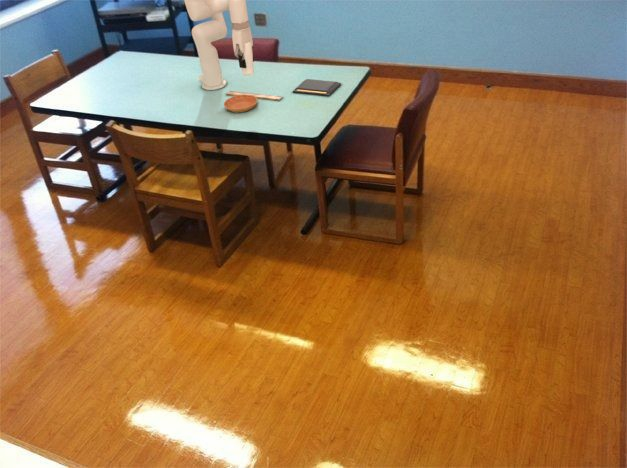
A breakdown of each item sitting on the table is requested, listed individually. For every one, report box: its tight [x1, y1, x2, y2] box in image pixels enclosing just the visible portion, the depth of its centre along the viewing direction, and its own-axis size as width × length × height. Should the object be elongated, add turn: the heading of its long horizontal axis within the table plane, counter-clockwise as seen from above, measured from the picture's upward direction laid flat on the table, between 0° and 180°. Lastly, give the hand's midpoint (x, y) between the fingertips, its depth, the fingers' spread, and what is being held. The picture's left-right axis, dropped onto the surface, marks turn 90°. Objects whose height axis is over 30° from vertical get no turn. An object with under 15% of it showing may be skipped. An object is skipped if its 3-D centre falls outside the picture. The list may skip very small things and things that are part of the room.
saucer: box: [223, 95, 259, 114], centre depth 284 cm, size 16×16×3 cm
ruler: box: [226, 90, 283, 102], centre depth 293 cm, size 30×3×1 cm, turn 65°
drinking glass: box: [239, 40, 255, 76], centre depth 269 cm, size 7×7×15 cm
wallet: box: [292, 78, 342, 97], centre depth 293 cm, size 20×2×15 cm
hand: (246, 64), depth 270 cm, fingers closed on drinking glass, 6 cm apart
